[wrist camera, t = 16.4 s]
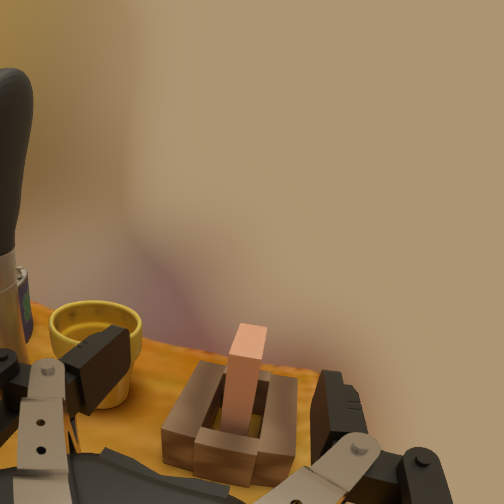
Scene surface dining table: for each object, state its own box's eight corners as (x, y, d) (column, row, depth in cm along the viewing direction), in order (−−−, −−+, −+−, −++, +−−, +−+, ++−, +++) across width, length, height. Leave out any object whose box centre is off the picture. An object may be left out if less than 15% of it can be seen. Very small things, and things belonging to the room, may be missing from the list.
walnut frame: (161, 466, 22) (158, 431, 21) (199, 391, 35) (201, 358, 34) (282, 492, 21) (294, 460, 20) (288, 408, 34) (297, 375, 33)
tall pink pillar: (216, 453, 25) (228, 353, 23) (228, 416, 31) (240, 322, 29) (242, 458, 25) (261, 359, 22) (250, 420, 31) (267, 327, 28)
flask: (21, 318, 41) (15, 257, 38) (36, 319, 42) (31, 257, 40) (11, 346, 33) (0, 275, 31) (28, 346, 34) (19, 276, 32)
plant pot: (161, 391, 33) (162, 319, 31) (102, 435, 24) (88, 356, 22) (103, 359, 37) (99, 292, 35) (45, 388, 28) (31, 314, 26)
